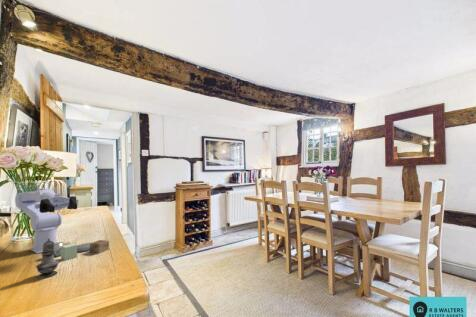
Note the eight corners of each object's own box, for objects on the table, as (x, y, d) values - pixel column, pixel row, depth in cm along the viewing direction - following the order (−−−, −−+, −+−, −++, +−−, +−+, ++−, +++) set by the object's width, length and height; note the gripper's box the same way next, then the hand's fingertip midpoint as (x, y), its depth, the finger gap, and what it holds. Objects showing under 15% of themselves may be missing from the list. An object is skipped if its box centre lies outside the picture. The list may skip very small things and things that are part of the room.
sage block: (61, 258, 89) (61, 245, 89) (72, 255, 92) (73, 243, 93) (64, 260, 87) (65, 247, 87) (76, 257, 90) (77, 245, 90)
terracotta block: (51, 252, 97) (52, 244, 97) (69, 249, 101) (69, 241, 101) (52, 254, 94) (52, 246, 94) (70, 251, 98) (70, 243, 98)
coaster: (69, 249, 100) (69, 247, 100) (93, 243, 108) (93, 241, 108) (78, 253, 94) (78, 251, 94) (103, 247, 102) (103, 245, 102)
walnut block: (89, 252, 95) (90, 243, 96) (99, 249, 100) (99, 240, 101) (99, 253, 94) (99, 244, 94) (108, 249, 99) (108, 240, 99)
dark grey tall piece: (45, 280, 71) (46, 241, 72) (30, 278, 72) (32, 240, 73) (63, 271, 77) (64, 236, 77) (49, 270, 78) (50, 235, 79)
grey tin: (48, 256, 91) (49, 244, 92) (60, 253, 95) (61, 241, 95) (52, 258, 89) (52, 245, 89) (64, 255, 92) (64, 243, 93)
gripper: (32, 193, 91) (42, 200, 84) (73, 190, 103) (86, 196, 96) (30, 210, 91) (41, 218, 84) (72, 205, 103) (84, 212, 96)
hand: (65, 208), depth 90 cm, fingers open, 7 cm apart
